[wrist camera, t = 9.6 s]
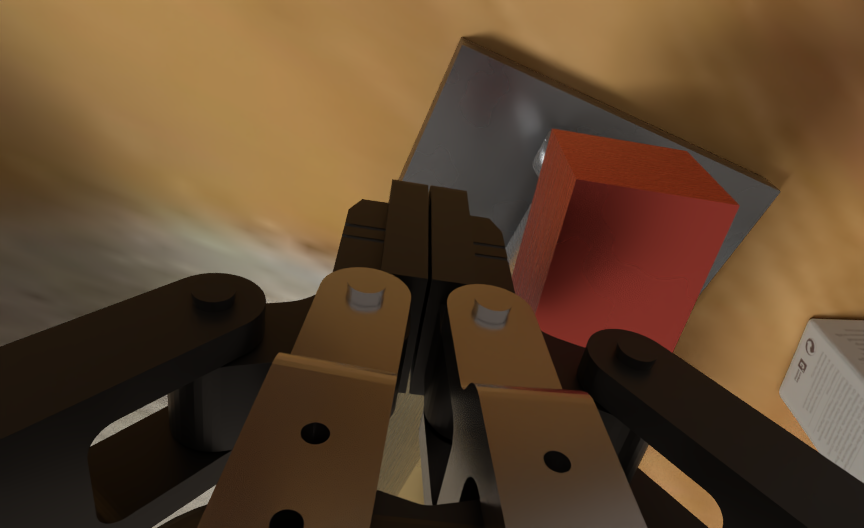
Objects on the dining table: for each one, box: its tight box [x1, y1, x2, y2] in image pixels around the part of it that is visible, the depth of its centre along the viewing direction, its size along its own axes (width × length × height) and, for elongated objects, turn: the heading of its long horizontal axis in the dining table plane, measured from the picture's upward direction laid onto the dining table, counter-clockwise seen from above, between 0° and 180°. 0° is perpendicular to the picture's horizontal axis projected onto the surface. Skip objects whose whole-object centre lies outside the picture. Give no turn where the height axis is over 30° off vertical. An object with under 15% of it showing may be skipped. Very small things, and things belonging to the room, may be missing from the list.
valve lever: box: [512, 129, 740, 353], centre depth 15 cm, size 16×3×2 cm, turn 171°
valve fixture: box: [377, 37, 781, 505], centre depth 23 cm, size 12×26×10 cm, turn 156°
